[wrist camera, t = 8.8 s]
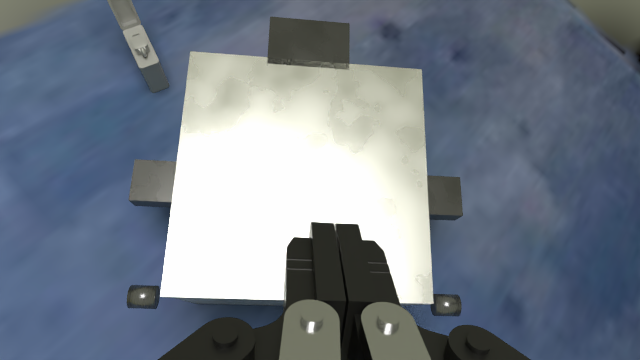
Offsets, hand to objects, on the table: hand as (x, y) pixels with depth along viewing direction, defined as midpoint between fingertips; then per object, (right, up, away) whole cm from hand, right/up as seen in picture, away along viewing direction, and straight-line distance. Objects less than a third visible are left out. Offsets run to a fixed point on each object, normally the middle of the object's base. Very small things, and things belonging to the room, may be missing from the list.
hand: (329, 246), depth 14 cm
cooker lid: (-1, +4, +18) cm, 19 cm away
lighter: (-17, +14, +29) cm, 36 cm away
